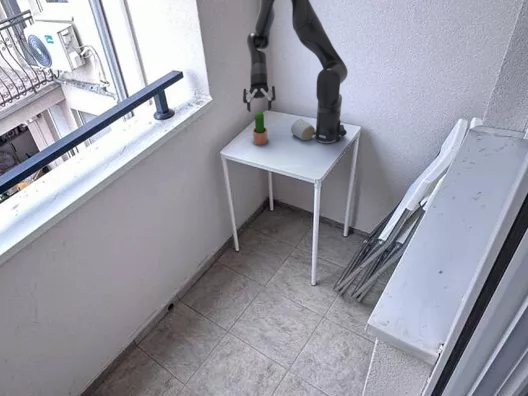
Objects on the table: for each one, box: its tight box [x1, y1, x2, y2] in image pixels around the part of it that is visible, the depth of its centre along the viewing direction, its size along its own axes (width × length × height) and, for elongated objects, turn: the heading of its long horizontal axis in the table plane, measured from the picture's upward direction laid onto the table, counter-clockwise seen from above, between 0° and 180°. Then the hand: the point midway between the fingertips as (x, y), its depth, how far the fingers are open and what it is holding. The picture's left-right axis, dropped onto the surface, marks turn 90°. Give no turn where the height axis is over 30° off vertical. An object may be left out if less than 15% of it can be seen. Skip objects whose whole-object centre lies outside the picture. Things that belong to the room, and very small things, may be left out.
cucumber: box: [254, 111, 265, 133], centre depth 163 cm, size 4×4×15 cm
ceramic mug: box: [290, 118, 316, 141], centre depth 163 cm, size 11×8×8 cm
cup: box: [252, 126, 268, 146], centre depth 166 cm, size 6×6×6 cm
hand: (259, 110), depth 162 cm, fingers open, 8 cm apart
